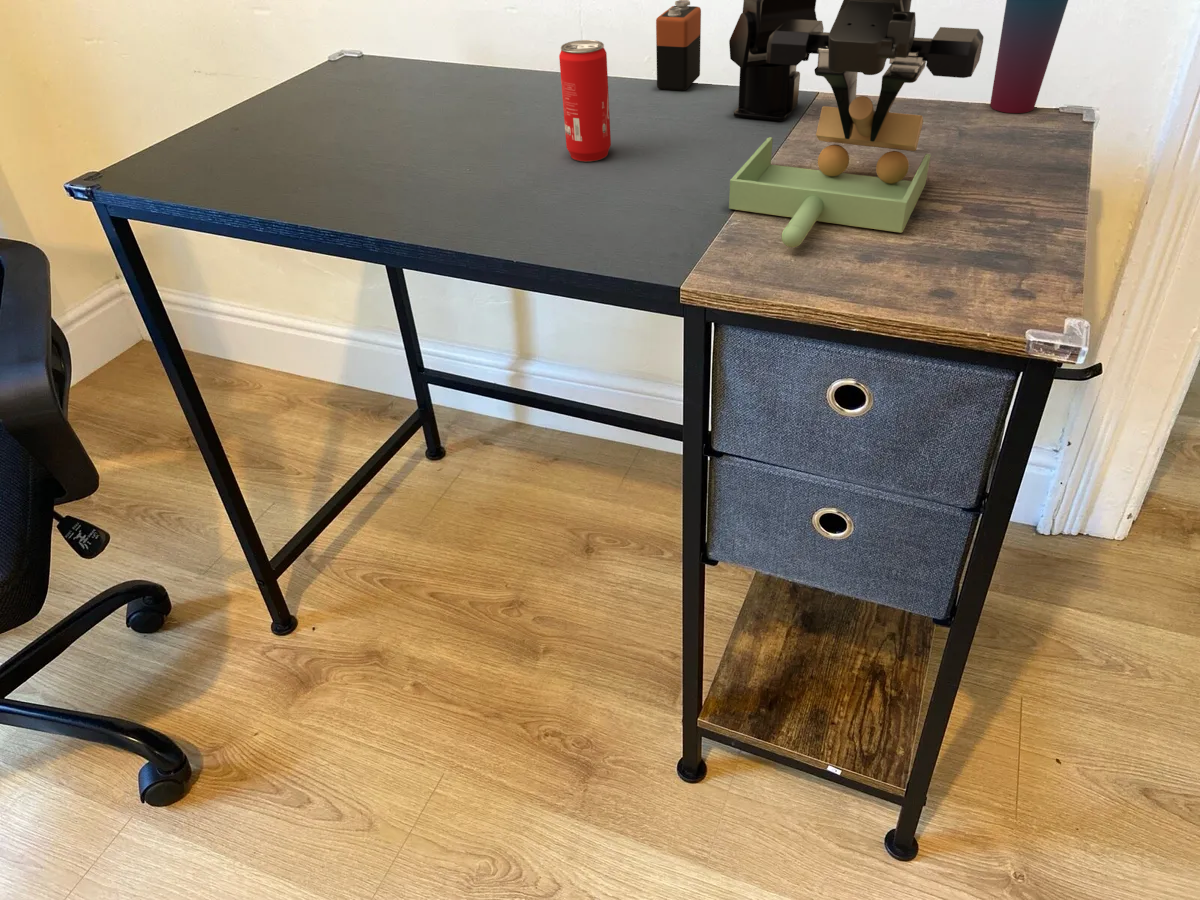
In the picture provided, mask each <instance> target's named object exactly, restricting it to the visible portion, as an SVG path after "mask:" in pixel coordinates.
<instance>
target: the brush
mask: <svg viewBox="0 0 1200 900" xmlns="http://www.w3.org/2000/svg"><path fill="white" fill-rule="evenodd" d="M875 111H876V108H875V107H874V104H873V102H872V100H871V99H870V98H869V97H868V96H865V95H861V96H856V98H855V99H854V100H853V101H852V102H851V104H850V106H849V113H850V116H851V118H852V120H853V122H854V125H853V130H852V135H851V137H850V139H845V136H844V131H843V127H842V123H841V119H840V114H839V110H838V107H836V106H835V107H834V106H827V105H826V106H824V105H822V107H821V111H820V115H819V119H818V124H817V128H816V133H815V137H816V138H817V139H818V141H819V142H824V143H825V142H826V143H834V144H842V145H843V144H844V145H852V146H861V147H871V148H873V147H874V148H882V149H889V150H897V151H898V150H900V151H909V152H916V151H917V149H918V145H919V141H920V136H921V133H922V128H923V125H924V119H923V115H921V114H911V113H900V112H890V111H889V113H888V115H887V117H886V119H885V121H884V123H883V125H882V127H881V129H880V131H879V134H878V136H877V138H876V139H875V141H874V142H872V141H870V137H871V128H872V123H873V119H874V115H875Z"/></svg>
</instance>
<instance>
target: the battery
mask: <svg viewBox="0 0 1200 900" xmlns="http://www.w3.org/2000/svg"><path fill="white" fill-rule="evenodd" d="M701 27H702V9H701V7H700V6H692V5H691V1H690V0H675V1H674V5H672V6H670V7H669V8H668V9H667V10H665V11H664V12H662V13H661V14H660V15H659V16H658V17H656V19H655V36H656V37H655V42H656V43H655V45H656V47H655V48H656V50H655V51H656V87H657V89H659V90H667V91H686V90H687V89H689V88H690V86H691V85H692V84H693V83H694V82H695V81H697V79H699V77H700V75H701V37H702V36H701V32H702V28H701Z"/></svg>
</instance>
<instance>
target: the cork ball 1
mask: <svg viewBox="0 0 1200 900" xmlns="http://www.w3.org/2000/svg"><path fill="white" fill-rule="evenodd" d="M849 163H850V155H849V153H848V150H847V149H845V147H844V146H842V145H840V144H830V145H827V146H826V147H824V148H823V149H822V150H821V151H820V153H819V154H818V157H817V167H818V170H821V172H822V173H823V174H825V175H827V176H838V175H840V174H842V173H845V171H846V170H847V168H848V166H849Z"/></svg>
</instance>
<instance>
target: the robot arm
mask: <svg viewBox="0 0 1200 900" xmlns="http://www.w3.org/2000/svg"><path fill="white" fill-rule="evenodd" d="M816 4H817V0H743V5H742V12H741V14H740V15H739V17H738V19H737V22H736V24H735V26H734V28H733V31H732V33H731V36H730V37H729V40H728V43H729V45H728V46H729V58H730V60H731V61H732V62H733V63H735V64H736V65H737V66H739V82H738V83H739V84H738V106H737V108H736V109H734V111H733V116H734V117H738V118H748V119H756V120H767V121H777V122H782V121H785V120H786V119H787V117H789V115H790V114H791V113H792V112H793V111H794V110H795V108H797V106H798V105H799V93H800V81H801V72H800V71H798V70H797V66H798V65H799V64H800V63H801V62H802V61H803V62H807V61H809V59H810V54H812V55H813V54H814V55H817V56H818V57H817V66H816V67H815V68H814V75H815V76H817V77H822V78H824V79H825V80H826V82H827V83H828V84H829V86H830V88H831V90H832V92H833V95H834V98H835V101H836V106H837V108H838V110H839V114H840V119H841V123H842V127H843V131H844V136H845V139H850V137H851V135H852V130H853V125H854V122H853V120H852V118H851V116H850V113H849V106H850V104H851V102H852V101H853V100H854V99H855V98H857V87H858V73H862V74H863V75H864V76H875V75H878V74H880V73H882V72H883V70H884V68H885V66H886V62H887V60H888V59H889V64H890V65H889V66H888V68H887V69H886V71H885V72H884V73H883V75H882V76H881V86H880V92H879V96H878V100H877V102H876V103H877V104H876V108H875V115H874V119H873V123H872V128H871V137H870V141H872V142H874V141H875V139H876V138H877V136H878V134H879V131H880V129H881V127H882V125H883V123H884V121H885V119H886V117H887V115H888V113H889V112H890V111H891V108H892V107H893V104H894V102H895V100H896V98H897V96H898V94H899V93H900V91H901V89H902V87H903V86H904V85H905V84H912V83H915V82H916V81H918V79H919V78H920V76H921V74H922V73H923V71H924V69H925V67H926V68H927V69H928V70H929V72H930V74H932V76H933V77H945V78H958V79H966V78H970V77H972V76H973V75H974V72H975V70H976V69H977V66H978V64H979V62H980V60H981V55H982V49H983V44H984V39H985V38H984V35H983V34H982V32H981V30H980V29H979V28H965V27H949V26H948V27H946V26H940V27H939V28H938V29H937V31H936V32H935V34H934V36H933V37H932V38H931V37H915V36H916V35H915V34H916V26H917V24H916V23H917V22H916V21H917V20H916V12H915V11H911V7H912V0H843V1H842V3H841V5H840V8H839V9H838V11H837V15H836V18H835V19H834V22H833V24H832V26H831V29H830V31H829V32H827V31H826V32H825V29H824V28H825V27H824V23H823V20H818V18H817V12H816V6H817V5H816Z"/></svg>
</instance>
